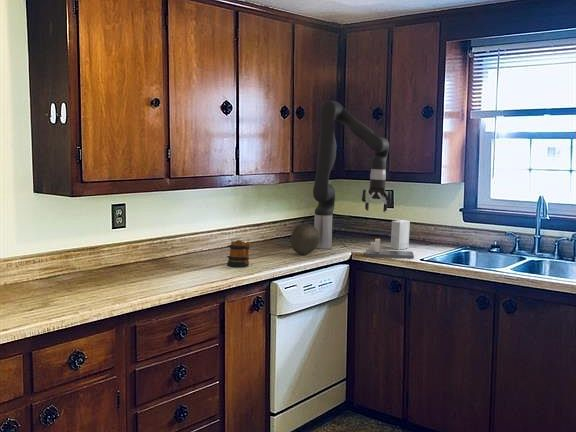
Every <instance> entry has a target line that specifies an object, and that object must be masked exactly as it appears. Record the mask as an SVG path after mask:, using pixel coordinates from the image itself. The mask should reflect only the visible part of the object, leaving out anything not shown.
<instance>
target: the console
mask: <svg viewBox="0 0 576 432" xmlns="http://www.w3.org/2000/svg"><path fill="white" fill-rule="evenodd" d="M365 257H366V258H367V257H370V258H386V259H387V258H389V259H405V258H414V259H415V255H414V253H413V251H409V250H408V251H407V250H386V249H385V250H384V249H380V252H375V241H370V248H369V249H367V248H366V249H365Z"/></svg>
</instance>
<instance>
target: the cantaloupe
mask: <svg viewBox="0 0 576 432" xmlns="http://www.w3.org/2000/svg"><path fill="white" fill-rule="evenodd" d="M290 235H291V236H290V245H291V248H292V250H293V251H294V252H295V253H296V254H298V255H301V256H303V255H308V254H311V253H312V252H313V251H314V250H316V249H317V248H316V247H317V246H318V244H319V240H320V235H319V232H318V230H317V229H316V228H315V227H314V225H312V224H309V223H301V224H299V225H297V226H295V228H294V229H293V231H292V233H291V234H290Z"/></svg>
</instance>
